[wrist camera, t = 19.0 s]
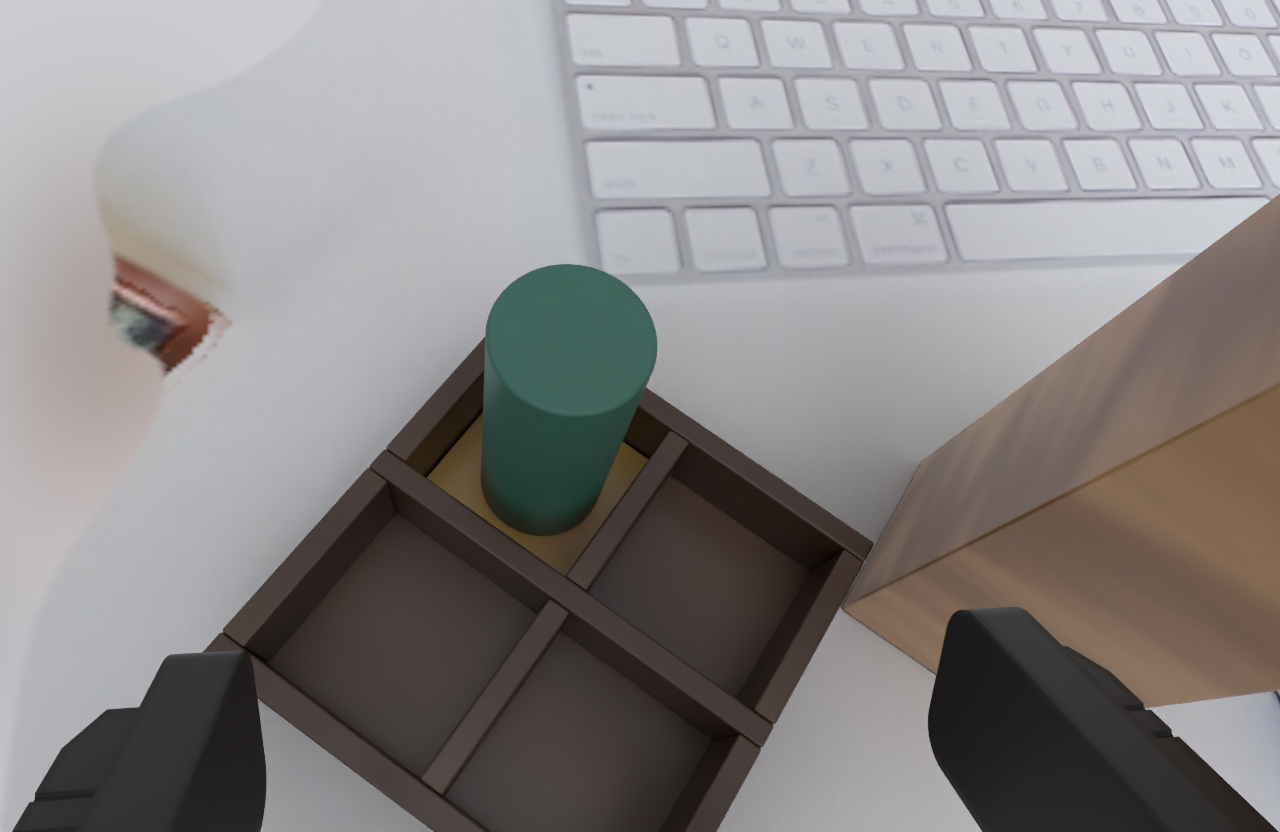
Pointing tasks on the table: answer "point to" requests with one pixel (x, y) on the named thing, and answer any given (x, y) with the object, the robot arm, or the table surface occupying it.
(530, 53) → the table surface
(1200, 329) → the pillar
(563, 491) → the green cylinder
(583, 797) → the grid
